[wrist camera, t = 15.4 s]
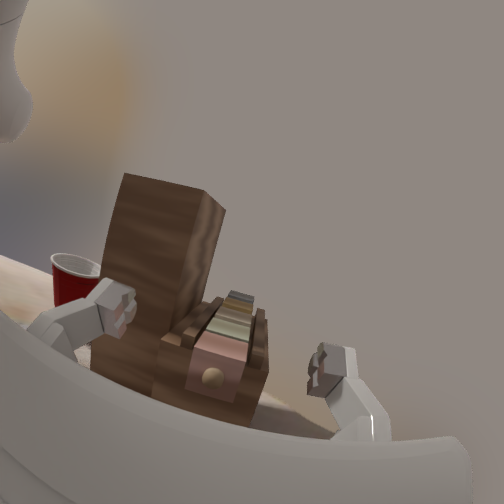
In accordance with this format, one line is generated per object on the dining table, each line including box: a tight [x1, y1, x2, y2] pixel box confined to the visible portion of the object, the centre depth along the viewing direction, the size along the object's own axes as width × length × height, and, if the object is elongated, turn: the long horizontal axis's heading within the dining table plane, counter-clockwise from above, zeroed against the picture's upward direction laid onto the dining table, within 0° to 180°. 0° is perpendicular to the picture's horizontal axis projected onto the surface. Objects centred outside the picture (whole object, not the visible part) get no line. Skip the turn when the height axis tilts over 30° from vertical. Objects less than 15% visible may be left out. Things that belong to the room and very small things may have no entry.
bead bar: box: [185, 290, 254, 403], centre depth 24 cm, size 20×3×3 cm, turn 178°
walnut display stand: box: [90, 173, 269, 428], centre depth 28 cm, size 16×17×26 cm
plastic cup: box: [51, 253, 101, 307], centre depth 40 cm, size 11×11×12 cm
